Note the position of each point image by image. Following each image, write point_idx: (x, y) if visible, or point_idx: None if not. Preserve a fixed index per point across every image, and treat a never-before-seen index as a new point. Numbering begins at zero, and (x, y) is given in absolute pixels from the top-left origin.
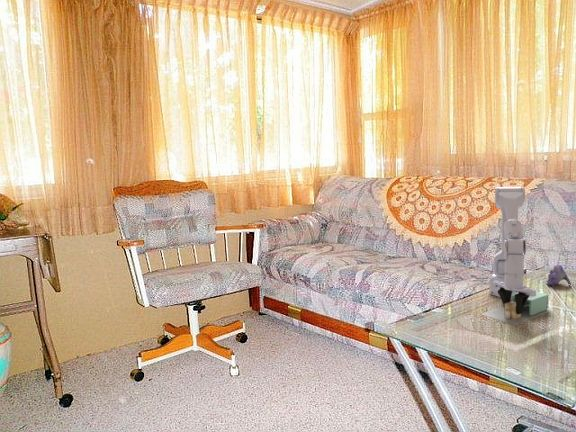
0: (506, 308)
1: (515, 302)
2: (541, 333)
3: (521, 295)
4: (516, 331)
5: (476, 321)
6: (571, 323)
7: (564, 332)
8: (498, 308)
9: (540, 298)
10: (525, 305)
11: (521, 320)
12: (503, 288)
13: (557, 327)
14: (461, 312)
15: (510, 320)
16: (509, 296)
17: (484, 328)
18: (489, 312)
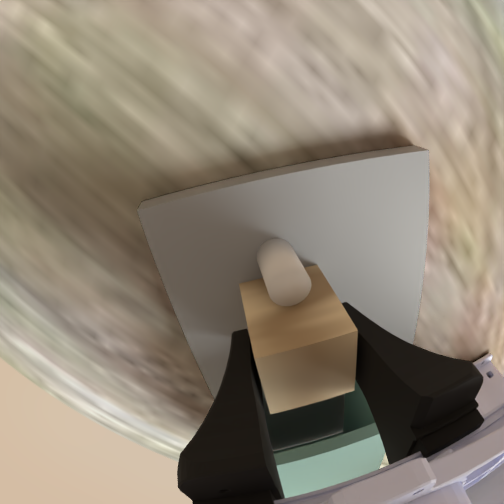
0: (324, 308)
1: (360, 405)
2: (42, 290)
3: (201, 490)
4: (99, 176)
5: (379, 62)
6: (136, 443)
7: (48, 376)
8: (414, 313)
9: None
10: (343, 422)
11: (200, 310)
12: (452, 438)
13: (104, 394)
14: (498, 121)
15: (231, 246)
16: (378, 412)
17: (247, 4)
18: (414, 226)
